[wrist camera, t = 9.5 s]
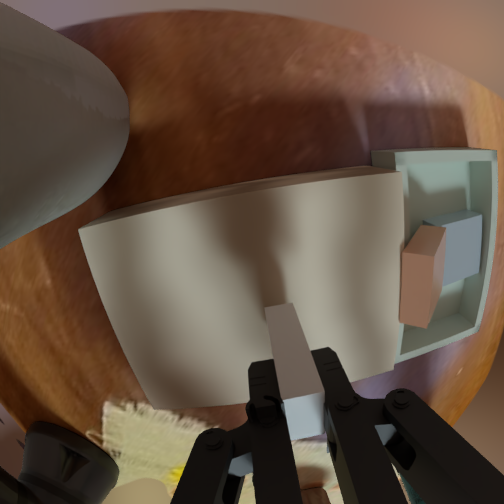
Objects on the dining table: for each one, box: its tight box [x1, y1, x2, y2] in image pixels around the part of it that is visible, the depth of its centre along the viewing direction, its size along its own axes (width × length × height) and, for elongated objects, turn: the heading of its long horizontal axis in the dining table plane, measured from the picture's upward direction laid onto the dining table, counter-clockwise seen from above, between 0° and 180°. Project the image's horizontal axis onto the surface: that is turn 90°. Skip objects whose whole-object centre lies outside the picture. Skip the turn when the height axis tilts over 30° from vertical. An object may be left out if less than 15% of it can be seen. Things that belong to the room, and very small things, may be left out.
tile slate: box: [423, 209, 482, 287], centre depth 19 cm, size 5×5×2 cm
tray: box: [371, 147, 498, 364], centre depth 20 cm, size 10×16×4 cm, turn 9°
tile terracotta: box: [399, 225, 446, 329], centre depth 17 cm, size 5×5×2 cm
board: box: [78, 166, 404, 410], centre depth 19 cm, size 18×14×5 cm
